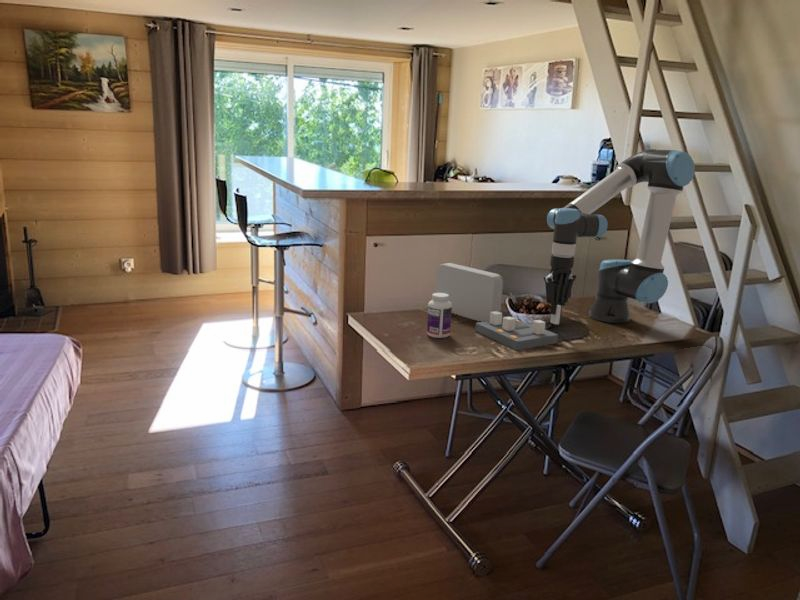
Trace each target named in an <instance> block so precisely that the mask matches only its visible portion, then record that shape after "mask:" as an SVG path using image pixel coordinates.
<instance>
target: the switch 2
mask: <svg viewBox="0 0 800 600" xmlns="http://www.w3.org/2000/svg"><path fill="white" fill-rule="evenodd" d="M531 322H532V323H531V324H532V332H533V333H535V334H537V335H538V334H544V332H545V330H546V321H543V320H541V319H535V320H532V321H531Z"/></svg>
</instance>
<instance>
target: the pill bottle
mask: <svg viewBox="0 0 800 600" xmlns="http://www.w3.org/2000/svg"><path fill="white" fill-rule="evenodd" d="M448 299H449V295H448V294H446V293H435V292H434V293H432V296H431V300H429V302H428V303H427V320H426V321H427V322H426V333H427V334H426V335H428V336H429V337H430V338H434V339H444V338H448V337H450V335H451V326H452V313H451V312H452V304H451V302H449V301H448Z"/></svg>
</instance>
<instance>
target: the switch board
mask: <svg viewBox="0 0 800 600" xmlns="http://www.w3.org/2000/svg"><path fill="white" fill-rule="evenodd" d="M528 323H529V322H528ZM528 323H524V322H521V321H519V320H517V319H516V321H515V330H512V331H506V330H504V329H502V324H503V318H502V324H500V325H493V324H491V323H489V321H485V322H479V321H477V322H475V326H474V327H475V329H474V330H475V331H474V332H476V331H477V333H478V332H479V333H478V334H480V335H483V336H485V337H487V338H489V339H491V338H492V339H491V340H493V339H494V340H493V341H495V340H496V342H497V341H498V343H499V344H502V345H504V344H505V345H504V346H506V347H508V346H509V347H508V348H510V347H511V349H512V348H513V349H512V350H514V349H515V350H514V351H521V350H526V349H533V348H538V347H544V346H550V345H554V344H555V343H556V344H558V340H559V334H557V333H554V331H553V332H552V331H550V330H548V329H545V332H544V334H538V335H537V334H535V333H533V332H532V323H530V324H528ZM549 344H550V345H549ZM556 344H555V345H556ZM543 345H544V346H543Z"/></svg>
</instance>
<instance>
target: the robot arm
mask: <svg viewBox="0 0 800 600" xmlns="http://www.w3.org/2000/svg"><path fill="white" fill-rule="evenodd" d="M695 168H696V166H695V162H694V160H693V157H692V156H691V155H690V153H688V152H685V151H682V150H681V151H680V150H673V149H654V148H652V149H645V150H642V151H639V152H638V153H637V152H636V154H635V153H634V154H632V155H631V156H629V157H627V158H626V159H624V160H623V161H622V162H620V163H619V164H617V165H616V166H615V169H614V170H613V171H612V172H611V173H610V174H608V175H607V176H605V177H603V179H601V180H599V182H597V183H596V184H594V185H593V186H591V187H590V188H589V189H588V190H586V191H585V192H583V193H582V194H581V195H579V196H578V197H577V198H575V199H573V200H572V201H571V202H569V203H567V204H566V205H565V206H564V207H561V208H560V207H558V208H557V207H556V208H552V209H551V210H550V211H549V212H548V213H547V216H546V223H547V226H549V227H550V229H552V230H553V238H552V246H551V247H552V248H551V254H552V255H550V263H549V265H550V271H549V274H548V275H547V276H546V275H544V276H543V281H544V283H545V296H546V303H547V304H550V305H551V306H550V323H551V324H554V325H560V319H561V315H562V312H563V311H562V310H563V306H564V307H565V306H566V303H568V302H569V298H570V295H571V292H572V288H573V285H574V282H575V280H576V278H577V275H576V274H573V273H572V269H573V268H574V263H575V255H576V248H577V247H576V246H577V239H578V238H598V237H602V236H604V235H605V234H606V233H607V230H608V226H609V225H608V224H609V223H608V220H607V218H606V217H605V216H604V215H602V214H597V213H594V212H596V210H598V209H599V208H601V207H602V206H604V205H605V204H607V202H609V201H611V199H614V198H615V197H616V196H617V195H618V194H620V193H622V192H623V191H624V190H626V189H627V188H633V187H634V186H636V185H637V184H640V183H646V182H647V189H648V190H649V192H650V195H649V199H648V204H647V208H646V212H645V217H644V222H643V227H642V231H641V234H640V239H639V243H638V248H637V253H636V256H635V259H633V260H631V259H618V258H615V259H603V260H602V261H601V263H600V265H599V269H598V277H597V278H598V280H597V287H596V294H595V295H596V296H595V299H594V300H593V301H592V302H593V303H592V305H591V307H590V309H589V314H588V315H589V317H590V318H591V319H593V320H595V321H598V322H603V323H611V324H612V323H613V324H624V323H628V322H630V319H631V313H630V308H629V307H630V306H629V303H628V299H633V300H636V301H638V302H639V303H644V304H645V303H646V304H653V303H656V302H658V301H659V300H660V299H661V298H663V296H664V295H665V294H666V292H667V289H668V287H669V280H668V277H667V276H666V274H665V273H664V271H665V267H664V265H663V263H662V260H663V256H664V251H665V246H666V242H667V238H668V234H669V230H670V225H671V222H672V216H673V212H674V208H675V204H676V199H677V197H678V195H680V194H681V193H683V190H684V187H686V186H688V185H689V184H690V183H691V182H692V181H693V179H694V176H695V172H696V171H695V170H696V169H695ZM593 213H594V214H593Z"/></svg>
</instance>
